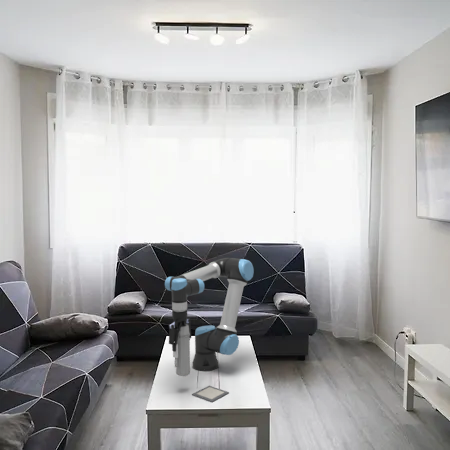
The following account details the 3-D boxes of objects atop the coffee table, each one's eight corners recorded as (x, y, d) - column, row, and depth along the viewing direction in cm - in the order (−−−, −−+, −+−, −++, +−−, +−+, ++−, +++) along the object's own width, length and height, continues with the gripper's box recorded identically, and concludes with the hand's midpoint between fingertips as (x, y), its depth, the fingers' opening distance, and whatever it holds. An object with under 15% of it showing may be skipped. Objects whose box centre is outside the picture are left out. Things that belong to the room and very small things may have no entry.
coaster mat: (209, 386, 233) (209, 385, 233) (228, 393, 225) (228, 392, 225) (191, 395, 223) (191, 393, 223) (212, 402, 214) (212, 401, 214)
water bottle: (182, 370, 233) (182, 322, 232) (193, 373, 228) (193, 325, 227) (169, 375, 226) (169, 326, 225) (180, 379, 221) (180, 329, 220)
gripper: (187, 304, 234) (188, 348, 236) (160, 312, 220) (161, 359, 221) (198, 307, 230) (199, 351, 231) (171, 315, 215) (172, 362, 216)
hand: (180, 355), depth 226 cm, fingers open, 6 cm apart
